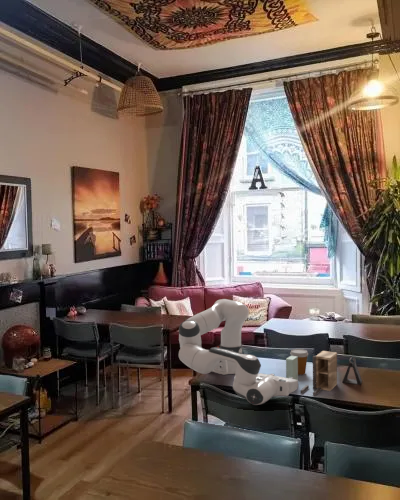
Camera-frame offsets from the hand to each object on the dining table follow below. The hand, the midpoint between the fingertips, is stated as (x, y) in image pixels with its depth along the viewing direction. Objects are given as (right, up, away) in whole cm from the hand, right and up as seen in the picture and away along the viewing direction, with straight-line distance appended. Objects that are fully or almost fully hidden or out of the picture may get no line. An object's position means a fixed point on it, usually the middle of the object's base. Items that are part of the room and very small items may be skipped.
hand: (282, 377), depth 215 cm
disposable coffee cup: (+15, -6, +29) cm, 33 cm away
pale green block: (+7, -7, +11) cm, 14 cm away
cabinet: (+19, -7, +5) cm, 21 cm away
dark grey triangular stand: (+38, -7, +14) cm, 41 cm away
